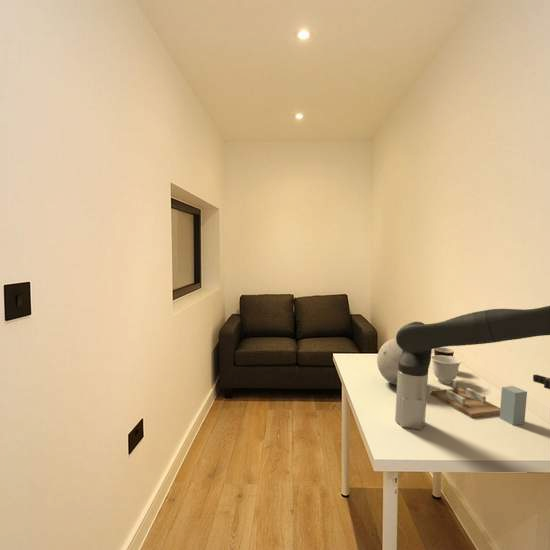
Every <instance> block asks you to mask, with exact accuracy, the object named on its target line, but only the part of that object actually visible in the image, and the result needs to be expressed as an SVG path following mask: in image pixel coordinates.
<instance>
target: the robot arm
mask: <svg viewBox="0 0 550 550" xmlns="http://www.w3.org/2000/svg"><path fill="white" fill-rule="evenodd" d="M540 336H541V337H544V336H550V305H547V306H543V307H537V308H529V309H528V308H527V309H523V308H522V309H518V308H493V309H485V310H479V311H473V312H470V313H465V314H461V315H459V316H455V317H452V318H449V319H447V320H446V319H445V320H444V321H440V322H435V323H424V322H421V321H412V322H409V323H407V324H405V325H403V326H402V327H401V328H400V329H399V330H398V331H397V333H396V335H395V338H396V342H397V344H398V346H399V347H400V348H401V349H402V355H401V358H400V360H399V363H398V378H397V385H396V394H395V395H396V398H395V400H396V401H395V415H394V416H395V418H394V420H395V422H396V423H397V424H398V425H400V426H401V428H408V429H414V430H421V431H422V430H423V428H424V427H425V425H426V411H427V410H426V409H427V398H428V395H427V394H428V384H429V383H428V381H429V380H428V378H429V369H430V365H431V360H432V359H431V357H432V352H433V350H434V349H435V348H440V347H441V348H447V347H460V346H461V347H462V346H472V345H474V346H475V345H484V344H493V343H501V342H506V341H513V340H521V339H527V338H533V337H540ZM532 381H533V382H534V383H537V384H541V385H543V388H544V389H547V390H550V377H547V376H543V375H540V374H539V375H538V374H533V376H532Z"/></svg>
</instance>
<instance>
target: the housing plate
mask: <svg viewBox="0 0 550 550" xmlns="http://www.w3.org/2000/svg"><path fill="white" fill-rule="evenodd" d="M452 384H453V386H452V388H449V389H448V388H446V389H436V390H435V389H434V390H430V395H431V394H432V395H431V396H432V397H434V396H435V397H434V398H436V397H437V398H436V399H438V400H439V401H441V400H442V401H441V402H442V403H445V404H446V405H448V406H450V407H452V408H453V409H455V410H457V411H459V412H460V413H462V414H463V415H466V416H467V417H468V418H470V419H475V418H481V417H482V418H483V417H490V416H500V407H499V406H497V405H495V404H493V403H491V402H489V401H487V399H486V398H487V396H485V395H484V394H481V393H480V392H478V391H476V390H474V389H471V388H468V387H467V388H466V389H463V388H461V387H460V388H459V385H460V384H459V381H457V380H453V382H452Z"/></svg>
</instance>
